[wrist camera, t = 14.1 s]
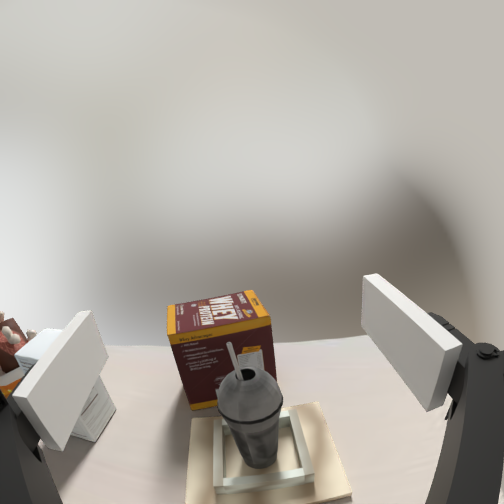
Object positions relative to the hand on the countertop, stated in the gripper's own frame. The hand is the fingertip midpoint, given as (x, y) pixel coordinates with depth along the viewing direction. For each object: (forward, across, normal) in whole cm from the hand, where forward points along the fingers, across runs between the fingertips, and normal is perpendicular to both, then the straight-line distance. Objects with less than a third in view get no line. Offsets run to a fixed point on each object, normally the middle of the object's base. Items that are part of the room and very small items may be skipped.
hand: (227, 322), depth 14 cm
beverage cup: (+12, 0, -29) cm, 32 cm away
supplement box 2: (+31, -4, -30) cm, 43 cm away
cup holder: (+13, 0, -30) cm, 32 cm away
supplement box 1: (+22, -30, -30) cm, 48 cm away
